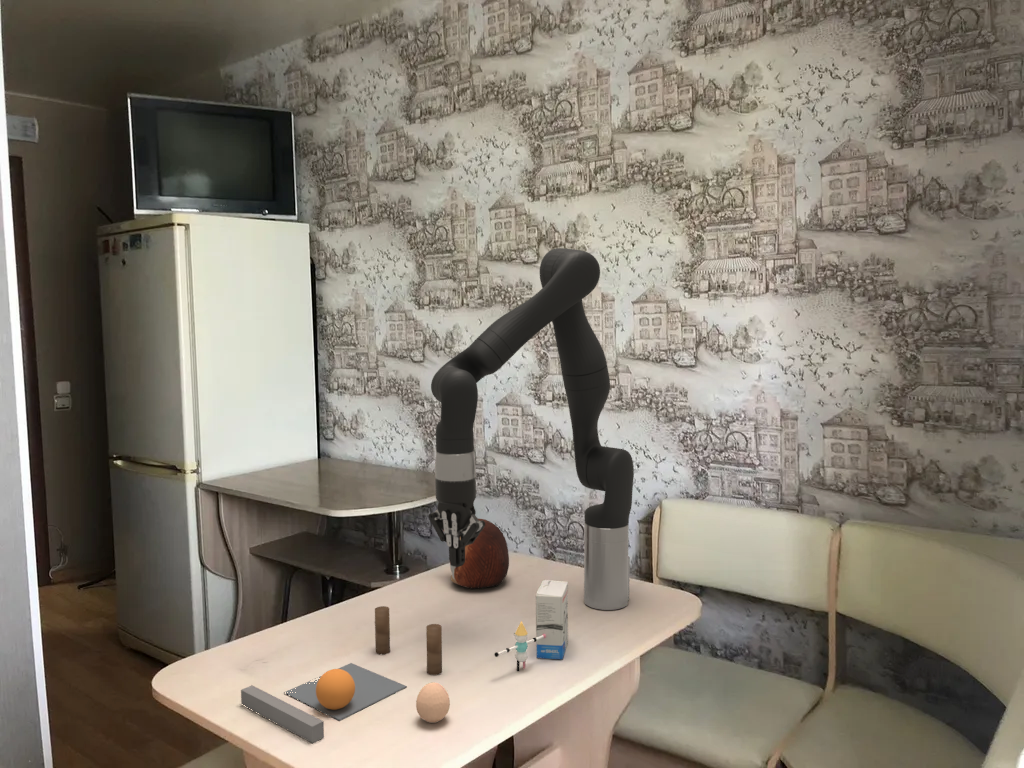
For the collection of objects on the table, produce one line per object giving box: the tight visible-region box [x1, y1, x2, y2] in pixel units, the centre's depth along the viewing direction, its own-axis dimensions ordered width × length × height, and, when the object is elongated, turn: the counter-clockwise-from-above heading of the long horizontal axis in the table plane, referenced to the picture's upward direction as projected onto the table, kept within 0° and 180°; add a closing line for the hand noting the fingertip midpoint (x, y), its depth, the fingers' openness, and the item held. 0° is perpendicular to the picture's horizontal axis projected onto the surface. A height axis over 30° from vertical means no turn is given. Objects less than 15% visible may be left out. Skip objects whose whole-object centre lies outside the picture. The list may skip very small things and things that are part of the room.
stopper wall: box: [240, 684, 325, 744], centre depth 124 cm, size 2×18×2 cm, turn 51°
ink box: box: [535, 579, 569, 661], centre depth 149 cm, size 9×5×12 cm, turn 169°
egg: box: [415, 682, 451, 724], centre depth 124 cm, size 5×5×6 cm
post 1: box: [374, 605, 391, 655], centre depth 148 cm, size 3×3×8 cm
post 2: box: [425, 623, 443, 676], centre depth 140 cm, size 3×3×8 cm
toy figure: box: [493, 620, 546, 672], centre depth 141 cm, size 12×2×9 cm, turn 133°
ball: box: [316, 668, 355, 710], centre depth 128 cm, size 6×6×6 cm
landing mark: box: [283, 662, 407, 722], centre depth 134 cm, size 14×14×1 cm
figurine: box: [442, 517, 510, 590], centre depth 184 cm, size 14×16×15 cm
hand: (457, 565), depth 154 cm, fingers closed
